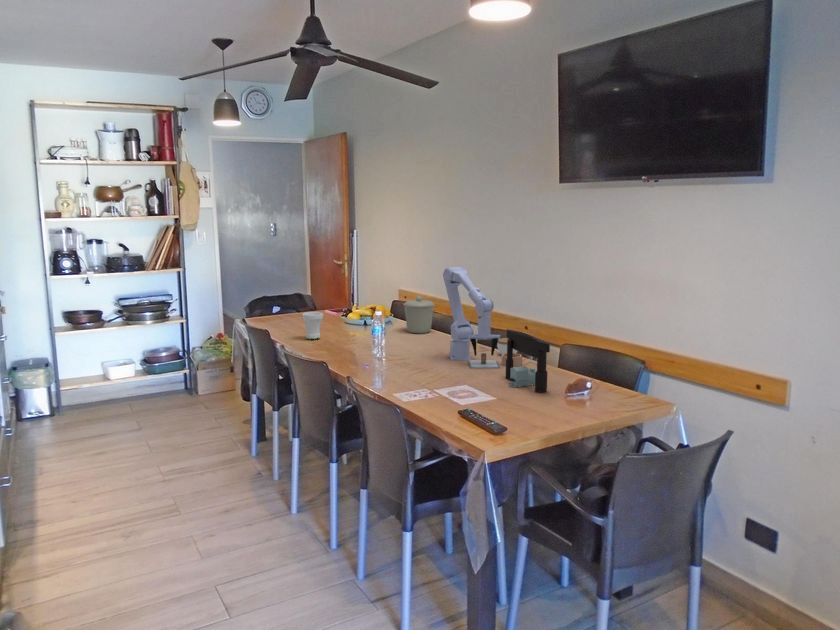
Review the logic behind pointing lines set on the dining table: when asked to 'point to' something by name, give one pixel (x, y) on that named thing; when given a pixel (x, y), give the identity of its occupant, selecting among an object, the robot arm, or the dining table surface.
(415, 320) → the canister
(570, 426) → the dining table surface
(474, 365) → the lid
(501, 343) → the lidded jar
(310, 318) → the cup
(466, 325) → the robot arm
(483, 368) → the mat
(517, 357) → the bowl
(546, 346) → the black arch frame
